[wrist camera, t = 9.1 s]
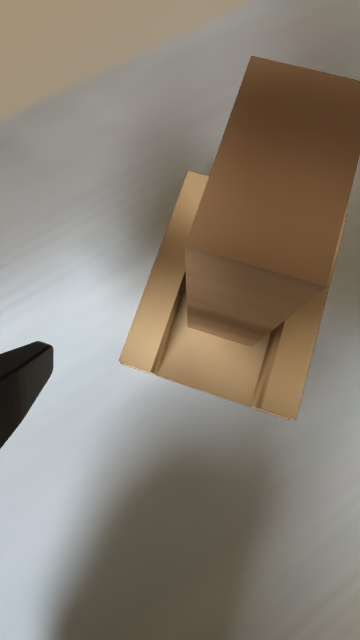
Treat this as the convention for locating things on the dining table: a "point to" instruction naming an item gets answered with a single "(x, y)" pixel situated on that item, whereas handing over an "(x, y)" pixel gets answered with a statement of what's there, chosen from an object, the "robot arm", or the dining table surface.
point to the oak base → (211, 351)
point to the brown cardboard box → (272, 201)
